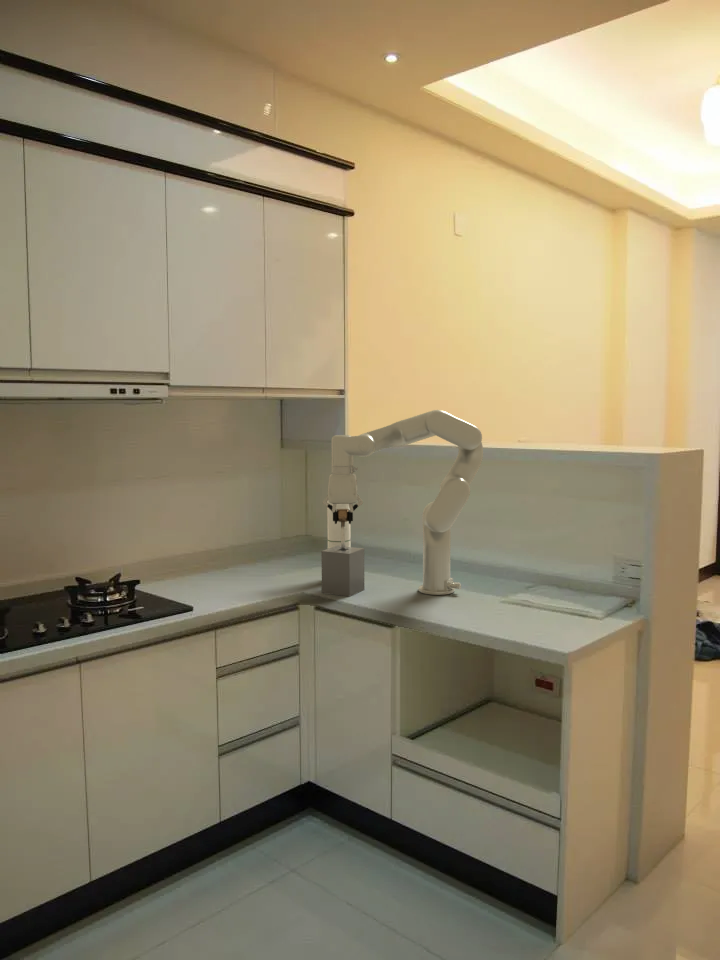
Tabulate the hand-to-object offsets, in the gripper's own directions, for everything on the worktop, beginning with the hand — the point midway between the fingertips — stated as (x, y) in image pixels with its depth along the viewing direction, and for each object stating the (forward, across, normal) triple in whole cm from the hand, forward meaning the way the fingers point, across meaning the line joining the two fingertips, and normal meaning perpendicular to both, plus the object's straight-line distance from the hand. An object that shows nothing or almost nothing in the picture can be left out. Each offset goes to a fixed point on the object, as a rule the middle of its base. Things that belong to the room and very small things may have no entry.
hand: (342, 522), depth 265 cm
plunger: (+15, 0, 0) cm, 15 cm away
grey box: (+24, 0, 0) cm, 24 cm away
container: (+25, +2, -18) cm, 30 cm away
